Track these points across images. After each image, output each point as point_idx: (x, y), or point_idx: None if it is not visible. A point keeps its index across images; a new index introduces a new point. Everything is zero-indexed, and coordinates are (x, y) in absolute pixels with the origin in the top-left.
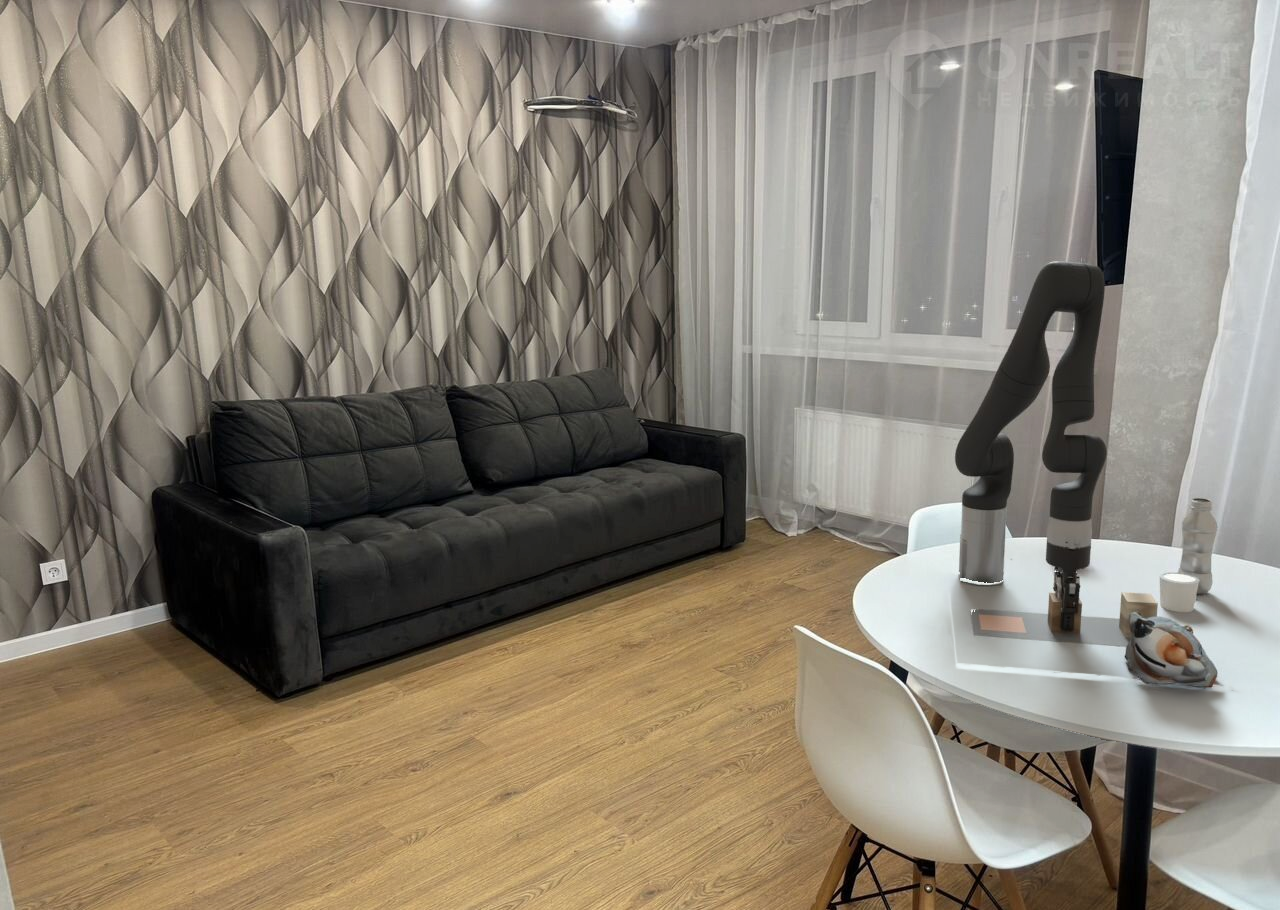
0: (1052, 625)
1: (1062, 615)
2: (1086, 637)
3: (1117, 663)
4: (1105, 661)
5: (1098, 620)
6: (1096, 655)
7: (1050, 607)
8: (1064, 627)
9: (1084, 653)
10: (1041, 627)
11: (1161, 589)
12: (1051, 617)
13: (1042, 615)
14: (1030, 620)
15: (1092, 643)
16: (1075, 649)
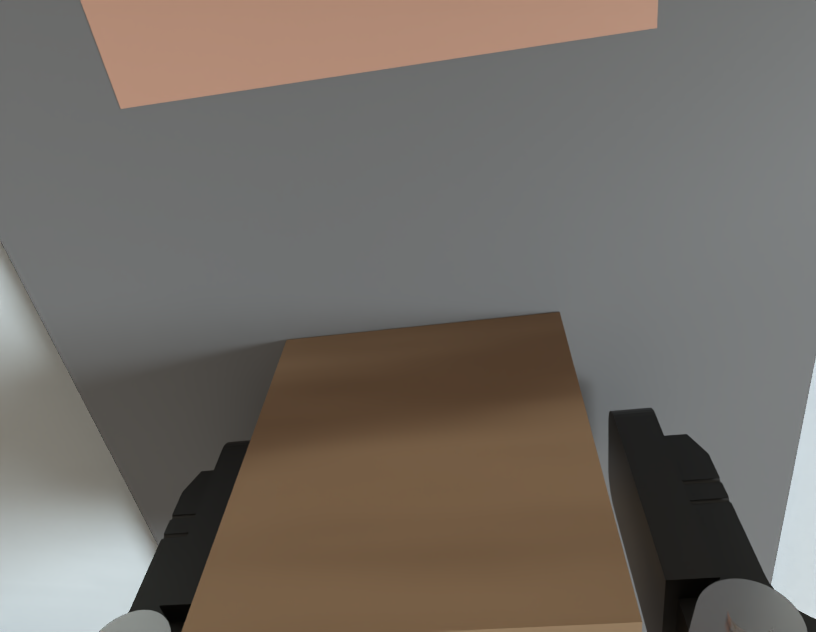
0: (275, 389)
1: (175, 579)
2: None
3: (23, 627)
4: (8, 586)
5: None
6: (73, 556)
7: (405, 488)
8: (187, 494)
9: (60, 505)
10: (373, 257)
11: None
12: (288, 433)
13: (765, 264)
14: (563, 141)
15: None
16: (98, 463)
